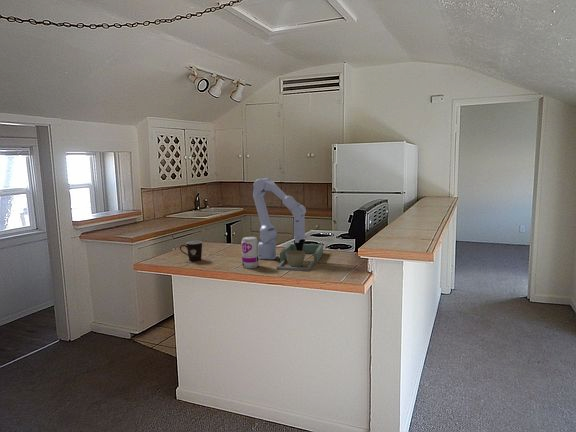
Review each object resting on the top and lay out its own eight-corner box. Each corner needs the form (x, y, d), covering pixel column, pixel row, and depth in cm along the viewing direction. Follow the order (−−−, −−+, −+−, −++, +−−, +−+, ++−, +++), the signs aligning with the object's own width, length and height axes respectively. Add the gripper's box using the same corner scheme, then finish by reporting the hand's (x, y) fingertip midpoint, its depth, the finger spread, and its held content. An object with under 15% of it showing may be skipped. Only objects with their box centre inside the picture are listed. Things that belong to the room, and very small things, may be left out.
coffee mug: (206, 259, 237) (205, 241, 236) (196, 262, 229) (195, 244, 228) (189, 257, 242) (188, 240, 240) (179, 261, 234) (178, 243, 233)
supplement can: (252, 269, 214) (251, 240, 211) (239, 267, 218) (238, 238, 216) (261, 265, 220) (260, 237, 218) (248, 263, 225) (247, 235, 222)
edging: (276, 269, 212) (276, 267, 212) (283, 262, 226) (282, 260, 225) (309, 270, 209) (309, 268, 209) (313, 263, 222) (313, 261, 222)
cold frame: (280, 262, 226) (279, 252, 226) (289, 252, 248) (288, 243, 247) (317, 263, 222) (316, 253, 221) (323, 253, 244) (322, 244, 243)
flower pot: (303, 269, 211) (303, 255, 210) (284, 268, 213) (283, 254, 212) (307, 264, 221) (306, 250, 220) (288, 263, 223) (287, 250, 222)
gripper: (304, 230, 218) (304, 256, 220) (309, 225, 232) (309, 250, 234) (290, 230, 220) (291, 256, 222) (296, 225, 234) (296, 249, 236)
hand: (299, 253), depth 228 cm, fingers closed
